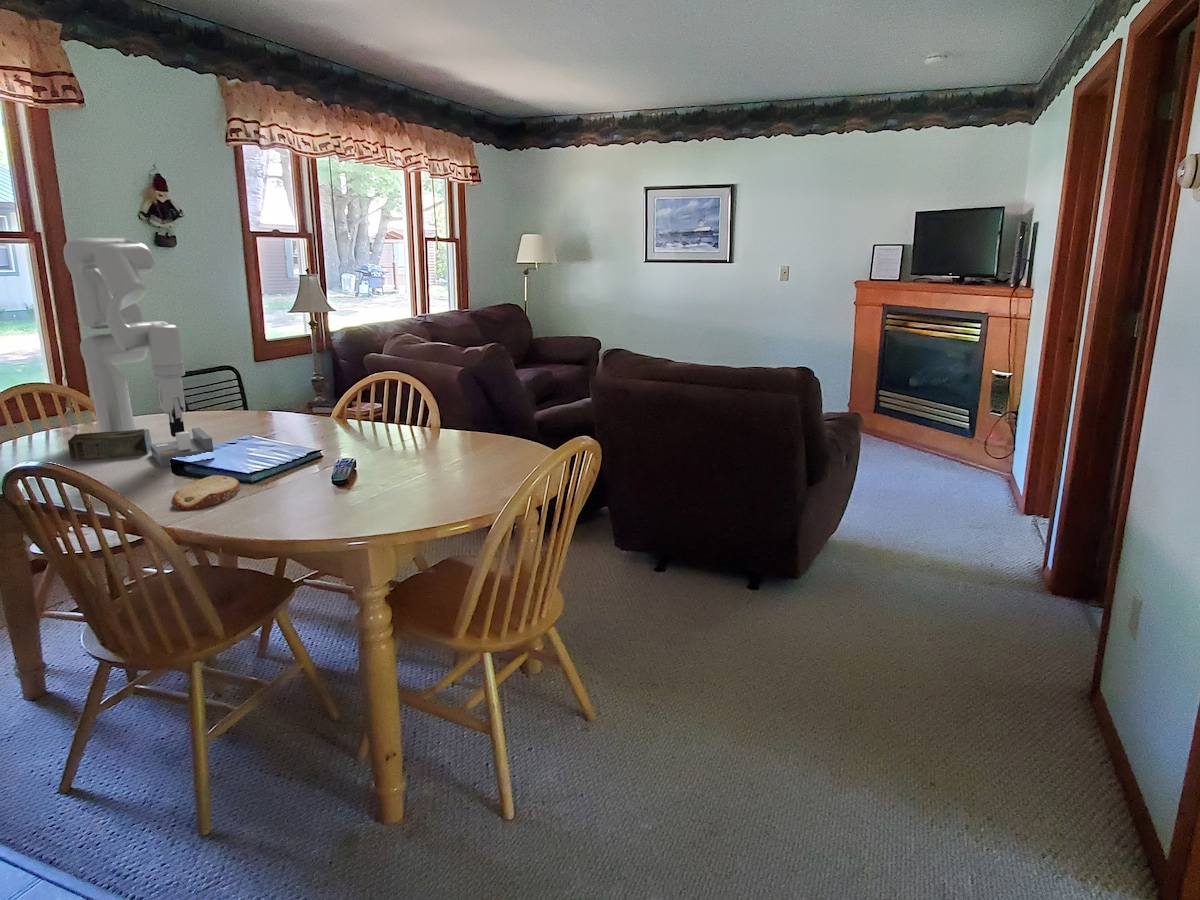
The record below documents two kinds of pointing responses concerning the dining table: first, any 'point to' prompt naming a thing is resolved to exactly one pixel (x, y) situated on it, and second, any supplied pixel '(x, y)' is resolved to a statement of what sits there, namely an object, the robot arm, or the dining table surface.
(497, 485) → the dining table surface
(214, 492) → the bread slice
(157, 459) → the grey slide switch panel
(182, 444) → the knob
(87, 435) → the beverage carton
